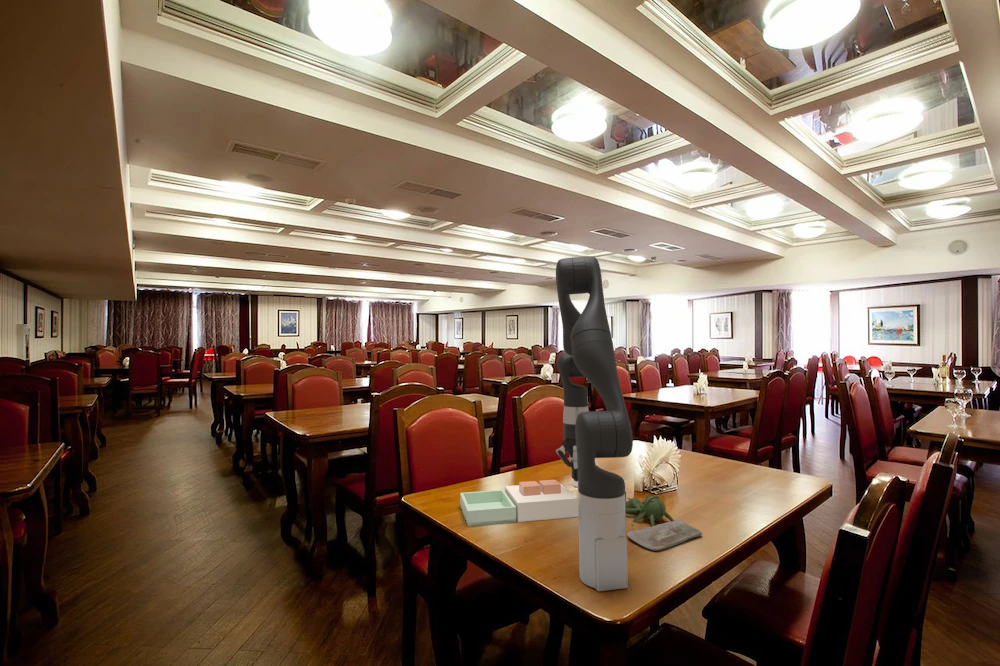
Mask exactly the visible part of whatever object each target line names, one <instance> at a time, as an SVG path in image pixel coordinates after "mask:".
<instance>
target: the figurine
mask: <svg viewBox="0 0 1000 666" xmlns="http://www.w3.org/2000/svg"><path fill="white" fill-rule="evenodd" d="M666 509H667V508H666V505H665V502H664V501H663V500H662V499H661V498H660V497H659V496H658V495H652V496H650V494H648V495H647V496H646V497H645V499H644V501H641V500H640V499H639V498H636V497H632V498H629V497H627V492H626V491H625V514H628V513H632V514H634V513H637V515H636V517H635V518H634V519H633V520H632V521H631V522H632V523H635V522H638V521H641V520H642V519H643V518H644V517H645V516H647V518H649V521H650V525H651V526H650V527H652V526H656V525H655V524H656V523H655V521H657V522H659V521H660V520H662V518H663V517H665V518H666V519H667V520H669V522H672V521H675V519H674V518H673V517H672V516H671V514H669V513H668V512H667V510H666Z"/></svg>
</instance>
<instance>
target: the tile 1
mask: <svg viewBox="0 0 1000 666" xmlns="http://www.w3.org/2000/svg"><path fill="white" fill-rule="evenodd" d="M518 485H519V491H520V492H521V494H522V495H523V496H531V495H541V486H540V485H539V482H537V481H536V480H532V481H531V480H529V481H519V482H518Z"/></svg>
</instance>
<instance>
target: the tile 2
mask: <svg viewBox="0 0 1000 666" xmlns="http://www.w3.org/2000/svg"><path fill="white" fill-rule="evenodd" d="M538 484H539V485H540V486H541V492H542V493H543V494H557V493H561V482H559V481H557V479H545V480H543V479H541V480H538Z"/></svg>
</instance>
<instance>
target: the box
mask: <svg viewBox="0 0 1000 666" xmlns="http://www.w3.org/2000/svg"><path fill="white" fill-rule="evenodd" d="M459 497H460V500H459V504H460V505H459V507H460V509H462V510H461V512H462V515H463V517H464V520H466V521H465V522H466V526H467V527H468V526H469V527H477V526H488V525H489V526H490V525H500V524H501V525H502V524H512V523H517V520H516V506H515V505H514V504H513V502H512V501H511V499H510V498H509V497H508V495H507V494H506V493H505V489H496V490H495V489H494V490H493V489H492V490H481V491H469V492H466V491H465V492H460V494H459Z"/></svg>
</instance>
